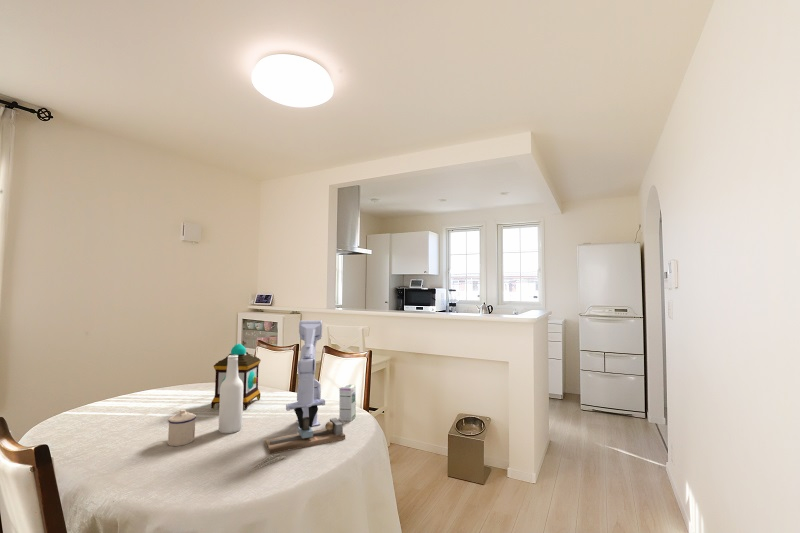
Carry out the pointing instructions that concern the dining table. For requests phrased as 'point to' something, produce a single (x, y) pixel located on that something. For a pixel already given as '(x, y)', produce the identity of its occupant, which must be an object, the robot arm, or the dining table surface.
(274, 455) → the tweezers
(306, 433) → the handle
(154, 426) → the dining table surface
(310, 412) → the robot arm
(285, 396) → the dining table surface
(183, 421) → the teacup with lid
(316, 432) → the press bench
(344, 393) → the syrup box
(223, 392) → the alcohol
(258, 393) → the decorative lantern
